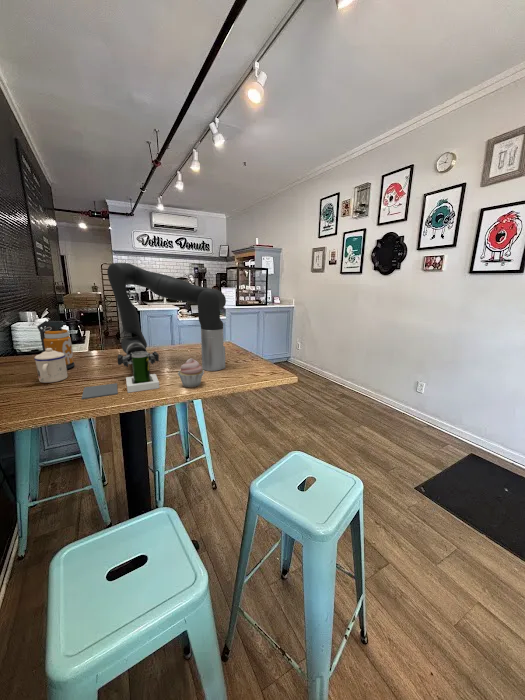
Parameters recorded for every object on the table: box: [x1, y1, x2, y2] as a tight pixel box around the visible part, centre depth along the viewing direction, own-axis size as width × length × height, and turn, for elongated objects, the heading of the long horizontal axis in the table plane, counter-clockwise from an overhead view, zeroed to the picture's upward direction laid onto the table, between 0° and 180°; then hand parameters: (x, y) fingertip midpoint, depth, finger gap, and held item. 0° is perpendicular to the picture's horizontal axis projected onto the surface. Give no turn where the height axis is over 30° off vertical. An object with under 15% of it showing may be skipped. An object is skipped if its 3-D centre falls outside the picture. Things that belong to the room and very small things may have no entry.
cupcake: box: [177, 357, 205, 388], centre depth 101 cm, size 9×9×10 cm
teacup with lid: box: [34, 348, 68, 383], centre depth 102 cm, size 12×9×12 cm
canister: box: [36, 319, 75, 370], centre depth 115 cm, size 9×11×20 cm
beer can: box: [131, 350, 151, 384], centre depth 99 cm, size 5×5×12 cm
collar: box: [125, 373, 160, 393], centre depth 100 cm, size 10×10×2 cm
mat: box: [81, 382, 118, 400], centre depth 94 cm, size 10×10×1 cm
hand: (139, 362), depth 102 cm, fingers open, 8 cm apart
